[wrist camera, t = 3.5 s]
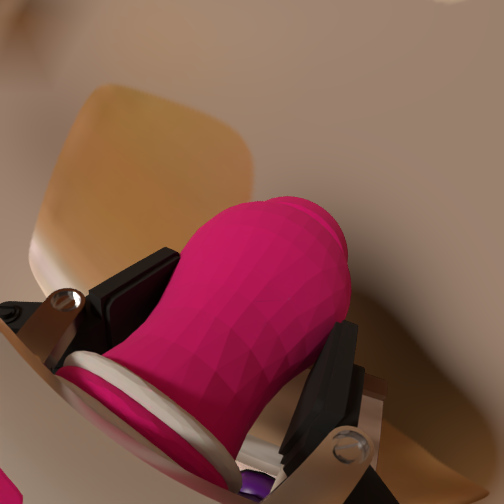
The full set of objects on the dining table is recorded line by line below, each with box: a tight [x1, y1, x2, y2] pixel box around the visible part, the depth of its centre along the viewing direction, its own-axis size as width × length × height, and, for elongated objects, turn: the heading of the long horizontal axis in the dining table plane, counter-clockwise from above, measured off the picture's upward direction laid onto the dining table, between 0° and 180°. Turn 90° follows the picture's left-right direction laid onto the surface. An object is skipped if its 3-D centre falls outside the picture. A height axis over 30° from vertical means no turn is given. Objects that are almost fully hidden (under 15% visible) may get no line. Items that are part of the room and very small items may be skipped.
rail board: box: [236, 364, 388, 493], centre depth 18 cm, size 12×18×8 cm, turn 76°
